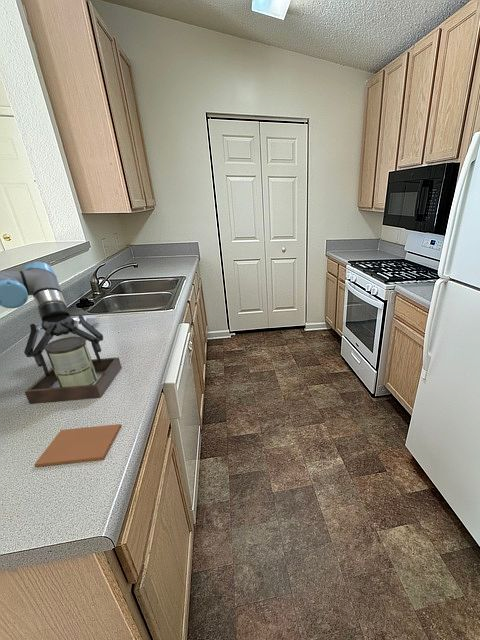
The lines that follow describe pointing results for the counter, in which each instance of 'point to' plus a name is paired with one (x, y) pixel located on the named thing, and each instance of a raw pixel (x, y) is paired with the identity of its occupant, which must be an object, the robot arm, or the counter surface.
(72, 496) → the counter surface
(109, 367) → the rectangular frame
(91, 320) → the spoon rest
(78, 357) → the coffee can
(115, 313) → the counter surface
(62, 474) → the counter surface
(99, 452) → the cork mat
